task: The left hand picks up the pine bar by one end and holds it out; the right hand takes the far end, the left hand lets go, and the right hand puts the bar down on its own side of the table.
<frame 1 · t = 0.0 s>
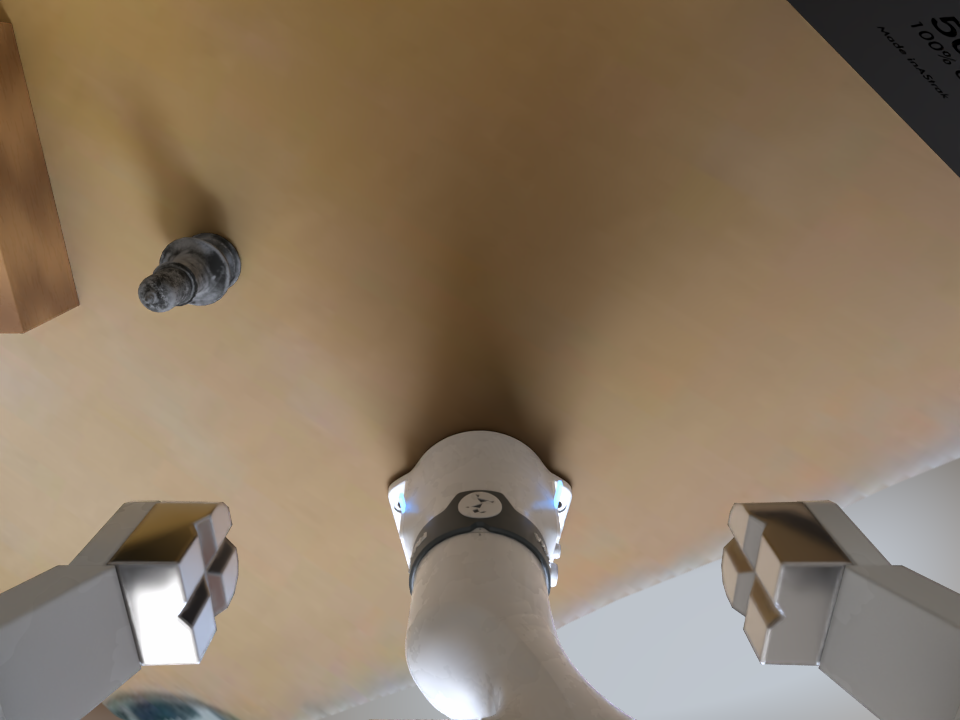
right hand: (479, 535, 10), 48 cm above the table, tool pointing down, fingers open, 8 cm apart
dark grey chess piece: (211, 261, 58), on the table
bar: (18, 175, 55), on the table
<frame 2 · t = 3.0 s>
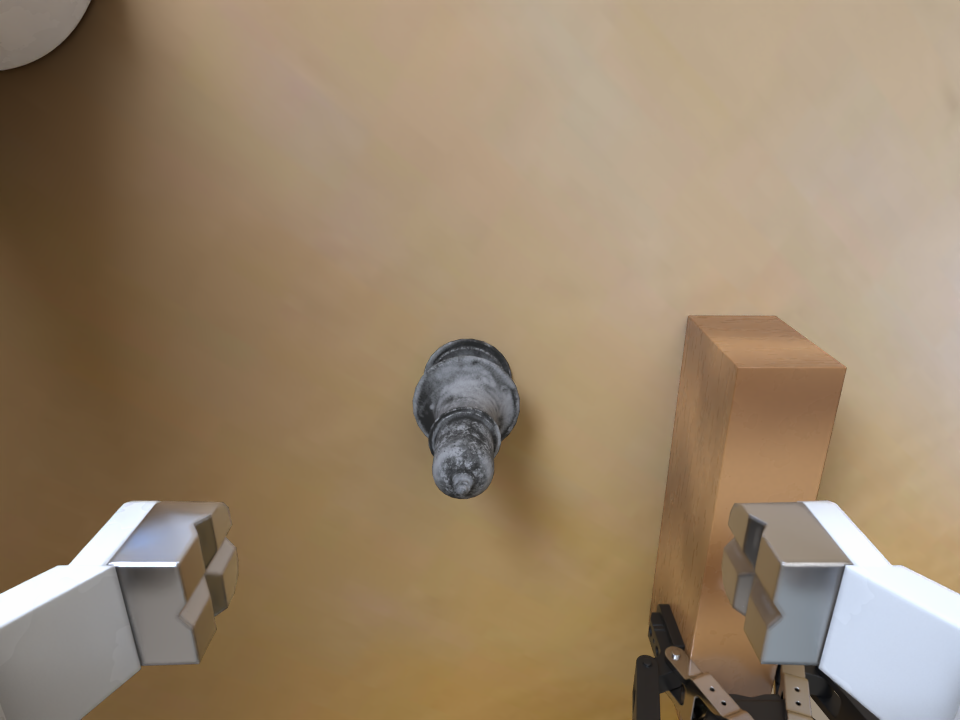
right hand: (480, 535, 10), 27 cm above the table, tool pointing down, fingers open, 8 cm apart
left hand: (706, 615, 41), fingers closed on bar, 5 cm apart
dark grey chess piece: (467, 378, 39), on the table
bar: (705, 485, 41), on the table, touching left hand
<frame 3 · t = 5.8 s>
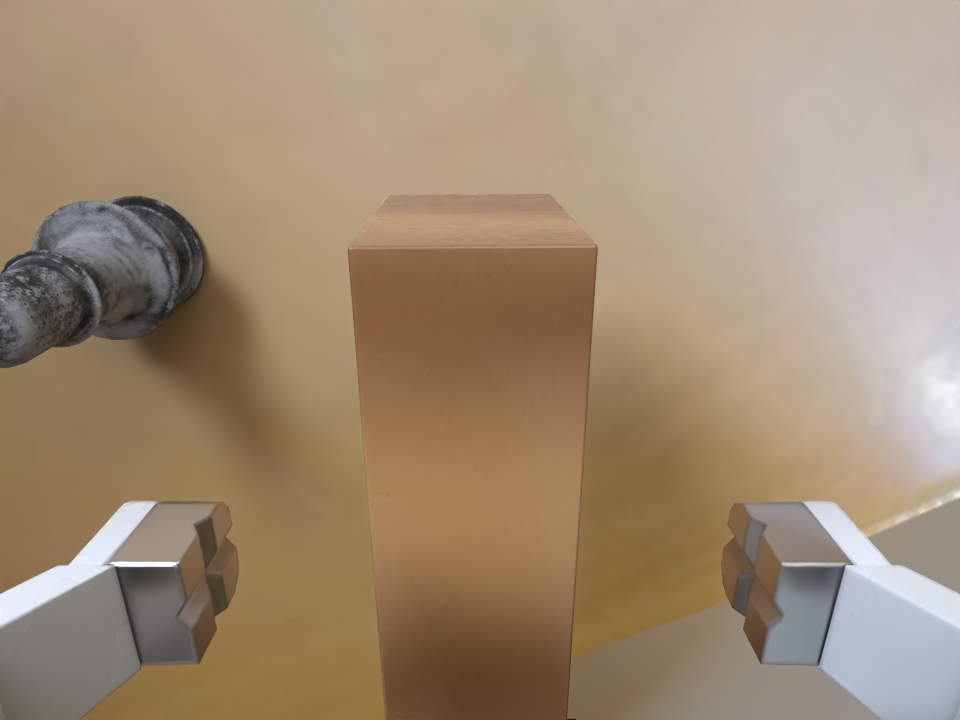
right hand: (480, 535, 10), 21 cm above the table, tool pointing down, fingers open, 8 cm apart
dark grey chess piece: (147, 253, 30), on the table
bar: (472, 503, 25), point 9 cm above the table, touching left hand
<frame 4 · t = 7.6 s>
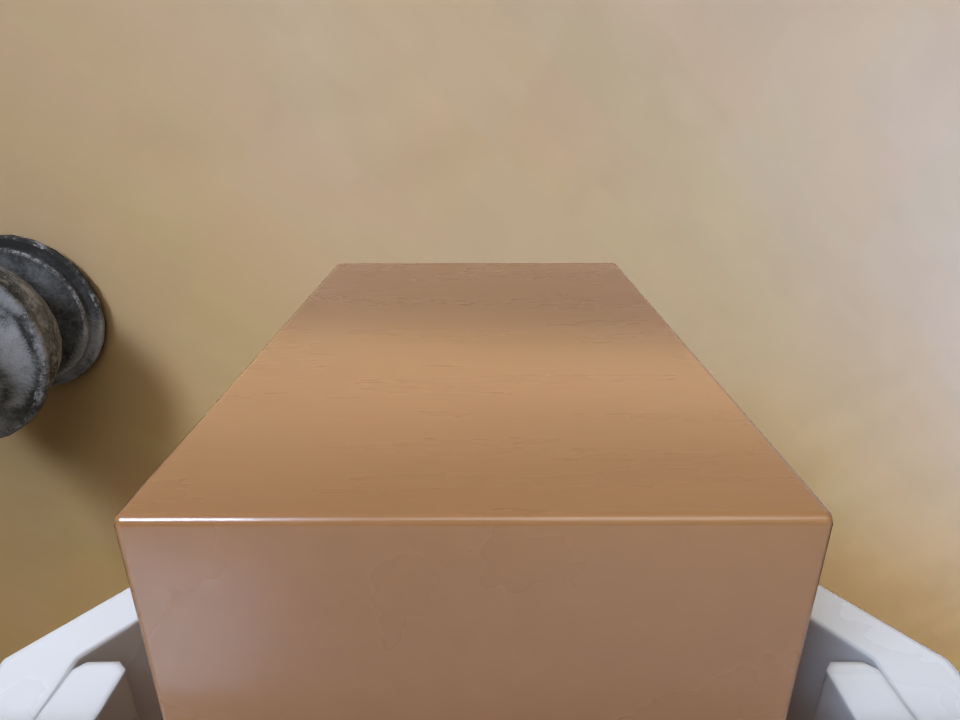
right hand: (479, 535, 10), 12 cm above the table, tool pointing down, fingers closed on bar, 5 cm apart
dark grey chess piece: (28, 311, 22), on the table
bar: (478, 719, 16), point 9 cm above the table, touching right hand, left hand
when the left hand's fingers open (13 cm above the table, at t = 8.6 s): bar stays where it is, held by the right hand.
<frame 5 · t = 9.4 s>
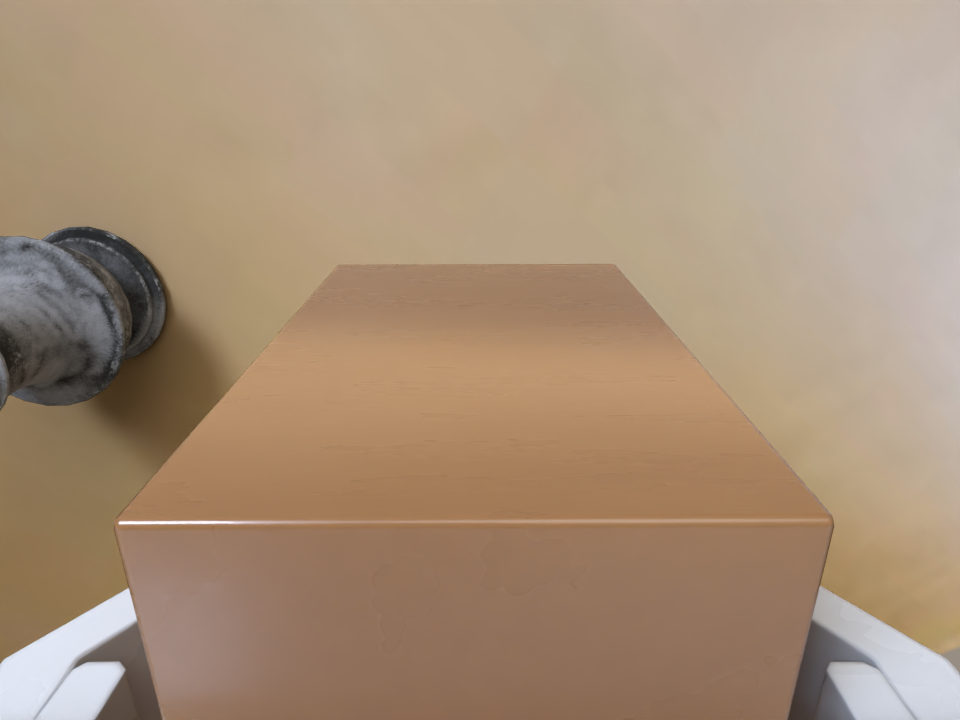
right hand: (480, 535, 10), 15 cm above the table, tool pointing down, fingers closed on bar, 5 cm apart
dark grey chess piece: (99, 294, 25), on the table
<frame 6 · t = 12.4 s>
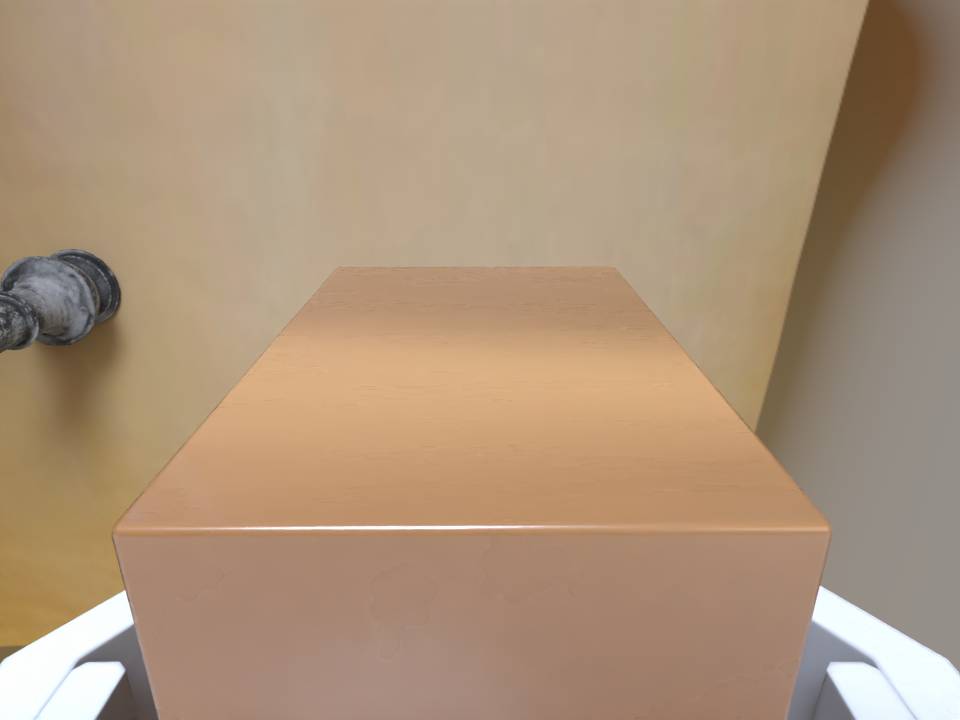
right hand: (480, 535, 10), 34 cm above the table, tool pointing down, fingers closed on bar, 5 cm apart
dark grey chess piece: (82, 286, 44), on the table
when the right hand's fingers open (4 cm above the table, at t = 17.3 s): bar drops 1 cm, on the table.
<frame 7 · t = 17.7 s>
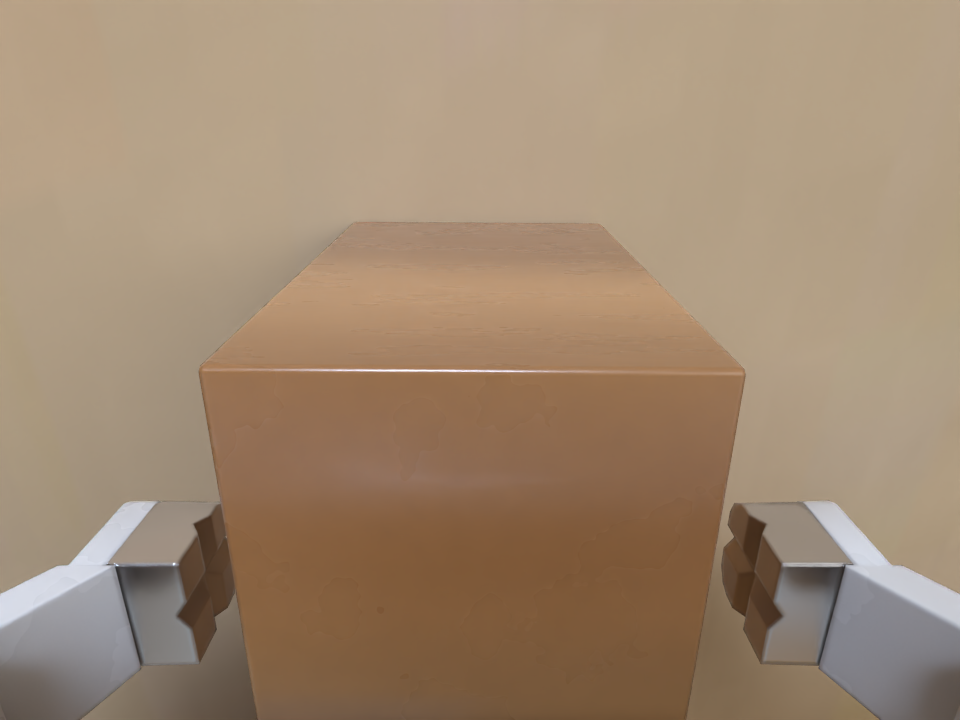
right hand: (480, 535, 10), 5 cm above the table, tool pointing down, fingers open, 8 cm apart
bar: (475, 650, 17), on the table
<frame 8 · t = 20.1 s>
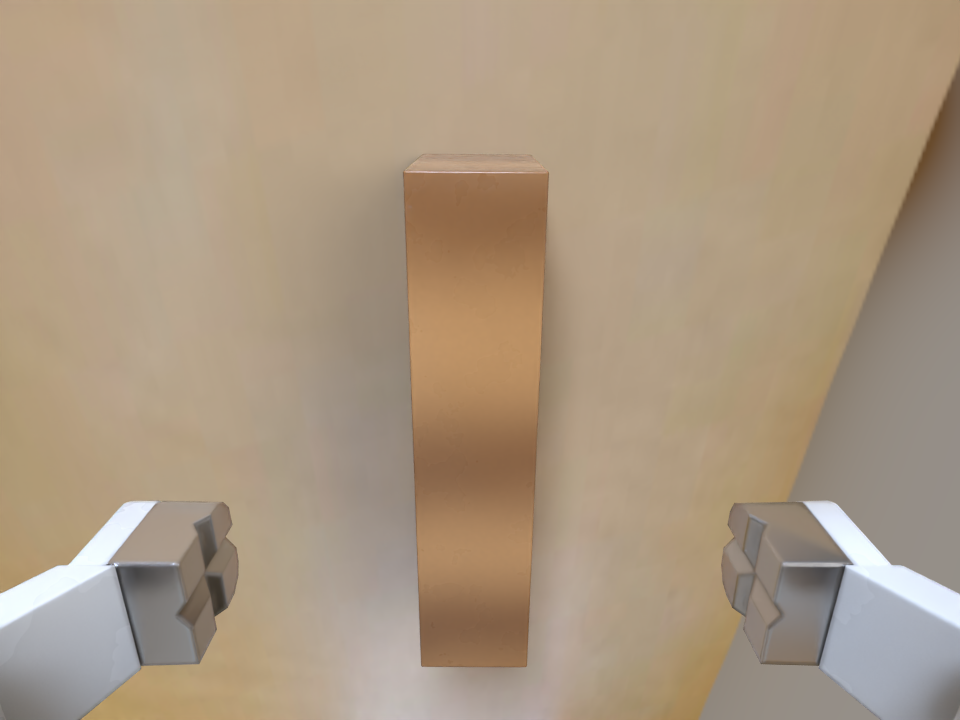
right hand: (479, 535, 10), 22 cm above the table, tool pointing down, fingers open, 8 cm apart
bar: (475, 383, 34), on the table
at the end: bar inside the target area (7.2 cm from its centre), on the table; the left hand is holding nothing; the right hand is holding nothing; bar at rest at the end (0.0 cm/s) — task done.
